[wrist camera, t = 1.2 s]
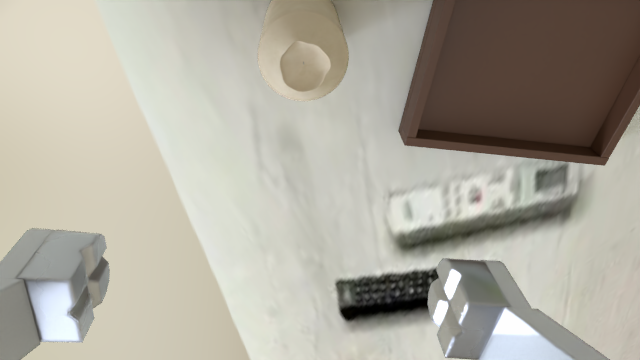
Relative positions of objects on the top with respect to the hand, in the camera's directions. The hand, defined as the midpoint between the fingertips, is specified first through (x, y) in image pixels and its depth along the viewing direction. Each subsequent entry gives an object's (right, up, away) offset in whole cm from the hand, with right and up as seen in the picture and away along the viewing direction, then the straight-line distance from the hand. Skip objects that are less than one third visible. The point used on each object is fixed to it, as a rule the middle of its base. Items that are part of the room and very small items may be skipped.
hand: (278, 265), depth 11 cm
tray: (+18, +12, +26) cm, 34 cm away
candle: (0, +14, +23) cm, 27 cm away
